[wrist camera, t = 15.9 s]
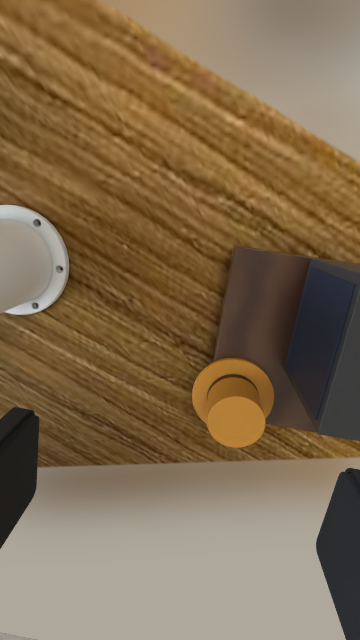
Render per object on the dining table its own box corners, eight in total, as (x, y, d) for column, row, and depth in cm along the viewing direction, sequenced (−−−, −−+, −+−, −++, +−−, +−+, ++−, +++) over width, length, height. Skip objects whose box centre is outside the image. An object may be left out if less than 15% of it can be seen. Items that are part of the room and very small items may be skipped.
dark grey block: (282, 368, 37) (315, 433, 25) (309, 257, 33) (361, 274, 22) (339, 377, 36) (399, 448, 25) (372, 266, 33) (459, 288, 22)
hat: (186, 422, 39) (183, 453, 34) (198, 351, 37) (197, 372, 32) (263, 436, 39) (272, 469, 34) (281, 364, 36) (293, 388, 31)
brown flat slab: (205, 396, 43) (204, 413, 39) (232, 244, 37) (235, 246, 34) (324, 416, 42) (336, 435, 38) (369, 264, 37) (387, 269, 33)
